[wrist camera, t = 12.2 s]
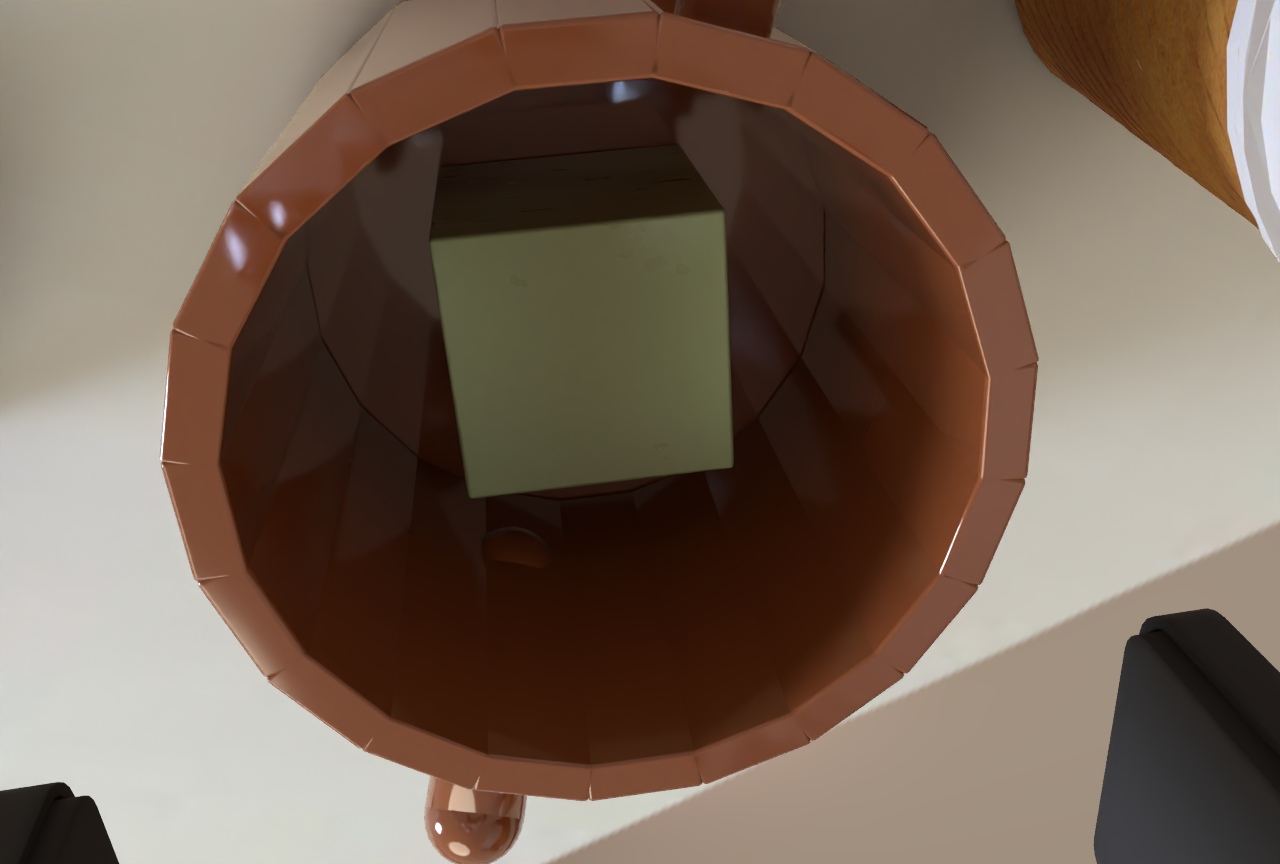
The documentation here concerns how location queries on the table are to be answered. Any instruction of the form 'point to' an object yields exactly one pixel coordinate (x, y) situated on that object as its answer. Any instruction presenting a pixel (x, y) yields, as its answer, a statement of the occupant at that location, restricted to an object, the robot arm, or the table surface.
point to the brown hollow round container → (615, 511)
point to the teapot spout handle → (490, 820)
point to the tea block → (584, 318)
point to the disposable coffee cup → (1180, 85)
